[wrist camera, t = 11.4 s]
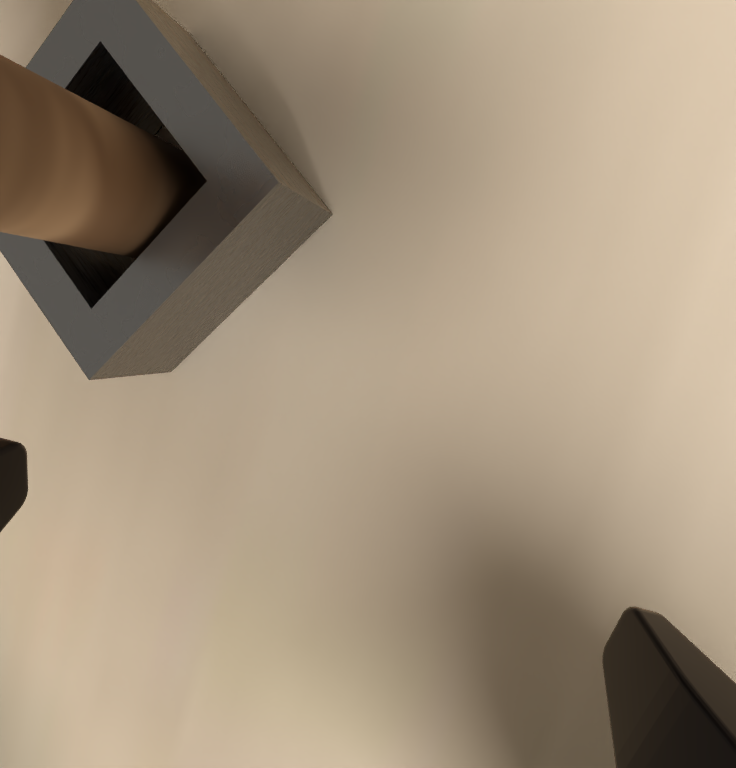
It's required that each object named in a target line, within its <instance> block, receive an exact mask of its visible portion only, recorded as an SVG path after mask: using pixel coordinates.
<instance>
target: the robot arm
mask: <svg viewBox="0 0 736 768" xmlns="http://www.w3.org/2000/svg"><path fill="white" fill-rule="evenodd" d="M27 492H28V473H27V451H26V449H25V447H24V446H23V445H22V444H21V443H18V442H15V441H11V440H7V439H3V438H0V532H1V531H2V530H3V528H4V527H5V526H6V525H7V524H8V522H9V521H10V520H11V519H12V517H13V516H14V515H15V514H16V513H17V511H18V510H19V509H20V508H21V506H22V505H23V503H24V501H25V499H26V496H27ZM603 670H604V677H605V685H606V693H607V701H608V708H609V716H610V724H611V731H612V739H613V747H614V754H615V762H616V768H736V683H735V682H734V681H732V680H731V679H730V678H729V677H728V676H727V675H726V674H725V673H724V672H723V671H722V670H721V669H720V668H718V667H717V666H716V665H715V664H714V663H713V662H712V661H711V660H710V659H709V658H708V657H707V656H706V655H704V654H703V653H702V652H701V651H700V650H699V649H698V648H697V647H696V646H695V645H694V644H693V643H692V642H690V641H689V640H688V639H687V638H686V637H685V636H684V635H683V634H682V633H681V632H680V631H679V630H678V629H676V628H675V627H674V626H673V625H672V624H671V623H670V622H669V621H668V620H667V619H666V618H665V617H663V616H662V615H661V614H659V613H657V612H653V611H650V610H646V609H642V608H638V607H629V608H627V609H626V610H625V611H624V612H623V614H622V616H621V618H620V619H619V621H618V623H617V625H616V627H615V629H614V631H613V632H612V634H611V636H610V638H609V640H608V642H607V643H606V646H605V648H604V652H603Z"/></svg>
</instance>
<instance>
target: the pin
mask: <svg viewBox="0 0 736 768" xmlns="http://www.w3.org/2000/svg"><path fill="white" fill-rule="evenodd" d="M206 182H207V180H206V179H205V178H204V176H203V175H202V174H201V172H200V171H199V170H198V168H197V167H196V166H195V164H194V163H193V162H192V161H191V159H190V158H189V157H188V155H187V154H186V153H185V152H184V151H182V150H181V149H179V148H177V147H175V146H173V145H171V144H169V143H167V142H165V141H163V140H162V139H160V138H158V137H156V136H154V135H152V134H150V133H148V132H146V131H144V130H143V129H141V128H139V127H137V126H135V125H133V124H131V123H129V122H127V121H125V120H123V119H122V118H120V117H118V116H116V115H114V114H112V113H110V112H108V111H106V110H104V109H103V108H101V107H99V106H97V105H95V104H93V103H91V102H89V101H87V100H85V99H84V98H82V97H80V96H78V95H76V94H74V93H72V92H70V91H68V90H66V89H64V88H63V87H61V86H59V85H57V84H55V83H53V82H51V81H49V80H47V79H45V78H44V77H42V76H40V75H38V74H36V73H34V72H32V71H30V70H28V69H26V68H25V67H23V66H21V65H19V64H17V63H15V62H13V61H11V60H9V59H7V58H5V57H4V56H2V55H0V232H3V233H8V234H14V235H19V236H24V237H29V238H34V239H40V240H45V241H50V242H55V243H60V244H66V245H71V246H76V247H81V248H86V249H92V250H97V251H102V252H107V253H112V254H118V255H123V256H128V257H133V258H138V257H139V256H140V255H141V254H142V252H143V251H144V250H145V249H146V248H147V247H148V246H149V245H150V244H151V242H152V241H153V240H154V239H155V238H156V237H157V236H158V235H159V234H160V232H161V231H162V230H163V229H164V228H165V227H166V226H167V225H168V224H169V223H170V221H171V220H172V219H173V218H174V217H175V216H176V215H177V214H178V213H179V211H180V210H181V209H182V208H183V207H184V206H185V205H186V204H187V203H188V202H189V200H190V199H191V198H192V197H193V196H194V195H195V194H196V193H197V192H198V190H199V189H200V188H201V187H202V186H203V185H204V184H205V183H206Z"/></svg>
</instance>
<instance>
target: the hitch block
mask: <svg viewBox="0 0 736 768" xmlns="http://www.w3.org/2000/svg"><path fill="white" fill-rule="evenodd" d="M26 69H28V70H30V71H32V72H34V73H36V74H38V75H40V76H42V77H44V78H45V79H47V80H49V81H51V82H53V83H55V84H57V85H59V86H61V87H63V88H64V89H66V90H68V91H70V92H72V93H74V94H76V95H78V96H80V97H82V98H84V99H85V100H87V101H89V102H91V103H93V104H95V105H97V106H99V107H101V108H103V109H104V110H106V111H108V112H110V113H112V114H114V115H116V116H118V117H120V118H122V119H123V120H125V121H127V122H129V123H131V124H133V125H135V126H137V127H139V128H141V129H143V130H144V131H146V132H148V133H150V134H152V135H154V134H155V133H156V132H157V131H158V130H159V128H160V127H161V126H162V125H163V124H164V125H165V127H166V128H167V129H168V130H169V132H170V133H171V134H172V136H173V137H174V138H175V140H176V141H177V142H178V144H179V145H180V146H181V147H182V149H183V150H184V151H185V153H186V154H187V155H188V157H189V158H190V159H191V161H192V162H193V163H194V164H195V166H196V167H197V168H198V170H199V171H200V172H201V174H202V175H203V176H204V178H205V179H206V180H207V182H206V183H205V184H204V185H203V186H202V187H201V188H200V189H199V190H198V192H197V193H196V194H195V195H194V196H193V197H192V198H191V199H190V200H189V202H188V203H187V204H186V205H185V206H184V207H183V208H182V209H181V210H180V211H179V213H178V214H177V215H176V216H175V217H174V218H173V219H172V220H171V221H170V223H169V224H168V225H167V226H166V227H165V228H164V229H163V230H162V231H161V232H160V234H159V235H158V236H157V237H156V238H155V239H154V240H153V241H152V242H151V244H150V245H149V246H148V247H147V248H146V249H145V250H144V251H143V252H142V254H141V255H140V256H139V257H138V258H137V259H136V260H134V258H133V257H128V256H123V255H118V254H112V253H107V252H102V251H97V250H92V249H86V248H81V247H76V246H71V245H66V244H60V243H55V242H50V241H45V240H40V239H34V238H29V237H24V236H19V235H14V234H8V233H3V232H0V251H1V252H2V254H3V255H4V257H5V258H6V260H7V261H8V263H9V264H10V266H11V267H12V268H13V270H14V271H15V273H16V274H17V276H18V277H19V279H20V280H21V282H22V283H23V285H24V286H25V287H26V289H27V290H28V292H29V293H30V295H31V296H32V298H33V299H34V301H35V302H36V303H37V305H38V306H39V308H40V309H41V311H42V312H43V314H44V315H45V317H46V318H47V320H48V321H49V322H50V324H51V325H52V327H53V328H54V330H55V331H56V333H57V334H58V336H59V337H60V338H61V340H62V341H63V343H64V344H65V346H66V347H67V349H68V350H69V352H70V353H71V355H72V356H73V357H74V359H75V360H76V362H77V363H78V365H79V366H80V368H81V369H82V371H83V372H84V373H85V375H86V376H87V378H88V379H89V380H95V379H105V378H115V377H125V376H135V375H145V374H156V373H166V372H171V371H172V370H173V369H174V368H175V367H176V366H177V365H178V364H179V363H180V362H182V361H183V360H184V359H185V358H186V357H187V356H188V355H189V354H190V353H191V352H192V351H193V350H194V349H195V348H196V347H197V346H198V345H199V344H200V343H201V342H202V341H203V340H204V339H205V338H206V337H207V336H208V335H209V334H210V333H211V332H212V331H213V330H214V329H215V328H216V327H217V326H218V325H219V324H220V323H221V322H222V321H224V320H225V319H226V318H227V317H228V316H229V315H230V314H231V313H232V312H233V311H234V310H235V309H236V308H237V307H238V306H239V305H240V304H241V303H242V302H243V301H244V300H245V299H246V298H247V297H248V296H249V295H250V294H251V293H252V292H253V291H254V290H255V289H256V288H257V287H258V286H259V285H260V284H261V283H262V282H263V281H264V280H266V279H267V278H268V277H269V276H270V275H271V274H272V273H273V272H274V271H275V270H276V269H277V268H278V267H279V266H280V265H281V264H282V263H283V262H284V261H285V260H286V259H287V258H288V257H289V256H290V255H291V254H292V253H293V252H294V251H295V250H296V249H297V248H298V247H299V246H300V245H301V244H302V243H303V242H304V241H305V240H307V239H308V238H309V237H310V236H311V235H312V234H313V233H314V232H315V231H316V230H317V229H318V228H319V227H320V226H321V225H322V224H323V223H324V222H325V221H326V220H327V219H328V218H329V217H330V216H331V215H332V213H331V212H330V210H329V209H328V208H327V207H326V205H325V204H324V203H323V202H322V200H321V199H320V198H319V197H318V195H317V194H316V193H315V192H314V190H313V189H312V188H311V187H310V185H309V184H308V183H307V182H306V180H305V179H304V178H303V176H302V175H301V174H300V173H299V171H298V170H297V169H296V168H295V166H294V165H293V164H292V163H291V161H290V160H289V159H288V158H287V156H286V155H285V154H284V153H283V151H282V150H281V149H280V147H279V146H278V145H277V144H276V142H275V141H274V140H273V139H272V137H271V136H270V135H269V134H268V132H267V131H266V130H265V129H264V127H263V126H262V125H261V124H260V122H259V121H258V120H257V119H256V117H255V116H254V115H253V113H252V112H251V111H250V110H249V108H248V107H247V106H246V105H245V103H244V102H243V101H242V100H241V98H240V97H239V96H238V95H237V93H236V92H235V91H234V90H233V88H232V87H231V86H230V84H229V83H228V82H227V81H226V79H225V78H224V77H223V76H222V74H221V73H220V72H219V71H218V69H217V68H216V67H215V66H214V64H213V63H212V62H211V61H210V59H209V58H208V57H207V56H206V54H205V53H204V52H203V50H202V49H201V48H200V47H199V45H198V44H197V43H196V42H195V40H194V39H193V38H192V37H191V35H190V34H189V33H188V32H187V31H186V30H185V29H184V28H182V27H181V26H180V25H179V24H178V23H177V22H176V21H174V20H173V19H172V18H171V17H170V16H169V15H168V14H166V13H165V12H164V11H163V10H162V9H161V8H159V7H158V6H157V5H156V4H155V3H154V2H153V1H151V0H73V2H72V3H71V4H70V6H69V7H68V9H67V10H66V11H65V13H64V14H63V16H62V17H61V19H60V20H59V21H58V23H57V24H56V26H55V27H54V28H53V30H52V31H51V33H50V34H49V36H48V37H47V38H46V40H45V41H44V43H43V44H42V45H41V47H40V48H39V50H38V51H37V53H36V54H35V55H34V57H33V58H32V60H31V61H30V62H29V64H28V65H27V67H26Z"/></svg>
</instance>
